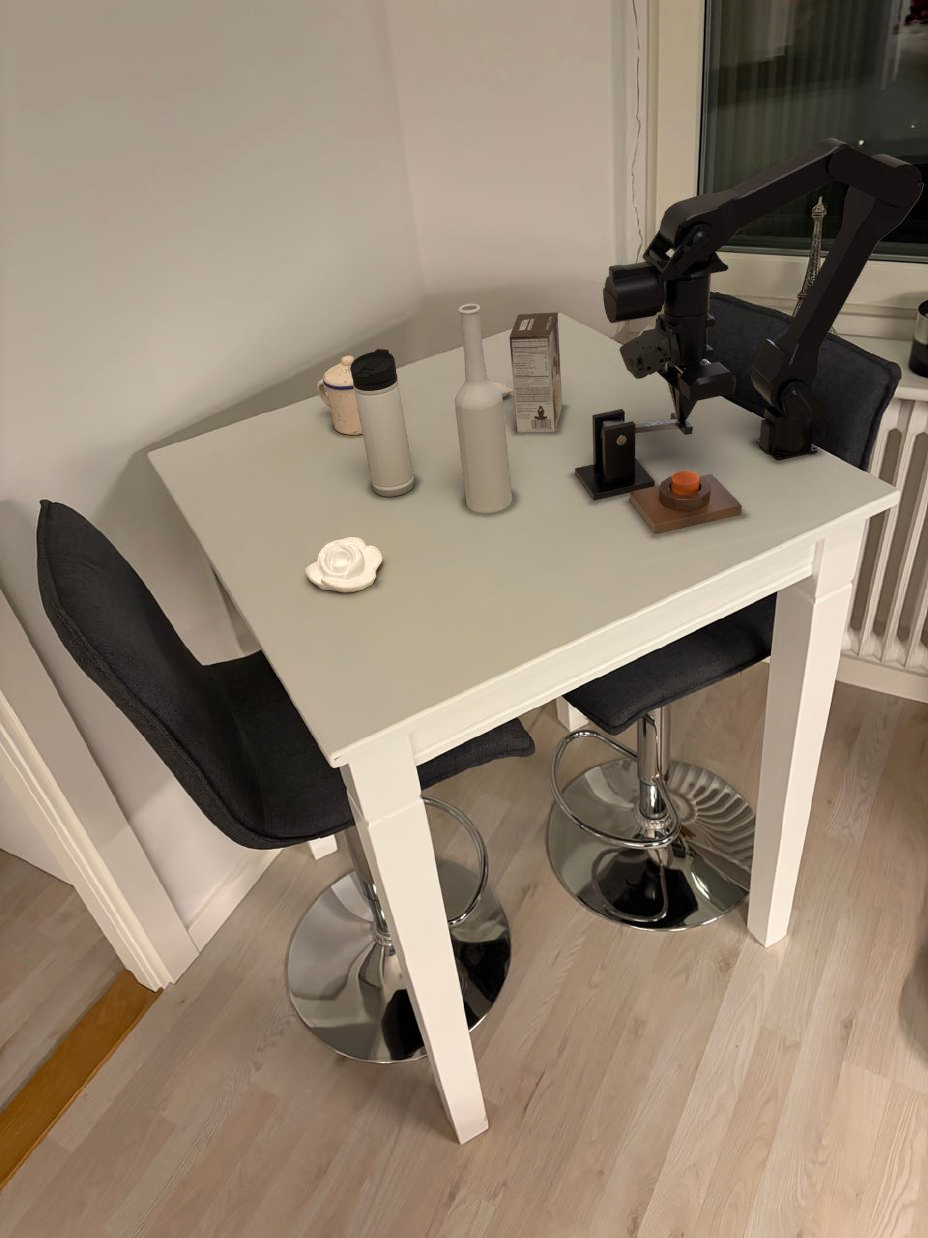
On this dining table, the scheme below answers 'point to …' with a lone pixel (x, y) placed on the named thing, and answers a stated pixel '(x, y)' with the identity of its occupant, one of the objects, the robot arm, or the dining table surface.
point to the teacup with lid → (341, 397)
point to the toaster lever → (656, 425)
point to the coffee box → (536, 372)
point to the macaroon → (503, 389)
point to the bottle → (481, 425)
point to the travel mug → (383, 422)
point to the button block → (684, 505)
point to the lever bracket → (613, 460)
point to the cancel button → (685, 483)
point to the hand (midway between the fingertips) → (682, 419)
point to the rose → (345, 565)
